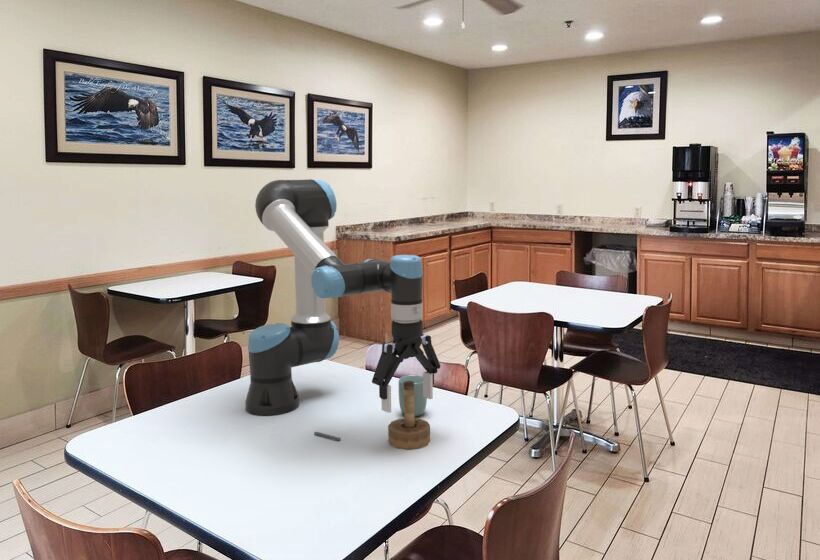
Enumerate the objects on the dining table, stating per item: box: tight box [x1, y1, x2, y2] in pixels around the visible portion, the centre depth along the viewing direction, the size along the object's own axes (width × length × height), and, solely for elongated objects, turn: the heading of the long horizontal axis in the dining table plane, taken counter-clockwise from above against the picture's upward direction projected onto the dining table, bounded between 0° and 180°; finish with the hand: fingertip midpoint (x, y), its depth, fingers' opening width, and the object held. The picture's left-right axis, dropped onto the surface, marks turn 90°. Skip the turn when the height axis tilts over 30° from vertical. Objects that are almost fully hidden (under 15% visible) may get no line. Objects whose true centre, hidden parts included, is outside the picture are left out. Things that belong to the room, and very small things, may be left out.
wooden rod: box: [403, 381, 416, 429], centre depth 154 cm, size 2×2×15 cm
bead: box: [387, 417, 431, 450], centre depth 154 cm, size 10×10×4 cm
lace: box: [313, 431, 341, 442], centre depth 158 cm, size 8×1×1 cm, turn 57°
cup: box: [397, 374, 428, 418], centre depth 172 cm, size 8×8×10 cm
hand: (407, 404), depth 154 cm, fingers open, 13 cm apart
